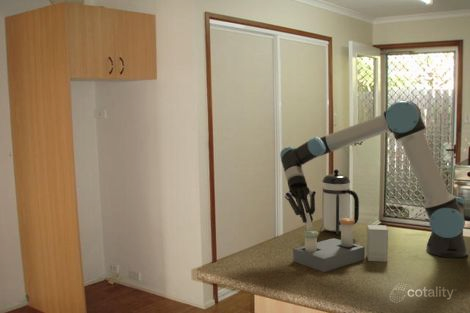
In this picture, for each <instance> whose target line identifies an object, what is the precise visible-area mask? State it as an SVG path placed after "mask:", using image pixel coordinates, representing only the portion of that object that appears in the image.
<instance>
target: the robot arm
mask: <svg viewBox="0 0 470 313" xmlns="http://www.w3.org/2000/svg"><path fill="white" fill-rule="evenodd" d="M426 130H427V128H426V126H425V123H424V121H423V119H422V112H421V109H420V108H419V106H418V105H417V104H416V103H414V102H412V101H410V100H398V101H396V102H394V103H392V104H391V105H390V106H389V107H388V109H386V110H384V111H382V113H381V114H380V115H378V116H375V117H372V118H369V119H367V120H364V121H362V122H359V123H356V124H354V125H352V126H351V125H350V126H348V127H346V128H342V129H339V130H337V131H335V132H332V133H330V134H327V135H324V136H322V137H319V136H314V137H313V138H311V139H309V140H307V141H305V143H302V144H301V145H299V146H298V147H294V146H288V147H284V148H283V149H282V150H281V151H280V156H279V157H280V161H281V165H282V167H283V171H284V174H285V180H286V181H287V186H288V190H289V191H288V192H286V193H285V196H284V199H286V200H287V201H288V203H289V205H290V207H291V208H292V209H293V212H294V213H295V215H296V216H299V217H300V218H301V220H302V224H304V223H305V226H306V231H313V228H314V226H313V221H314V220H313V215H314V213H315V211H316V203H315V202H316V199H315V196H316V191H314V190H313V191H312V190H310V188H309V187H308V184H307V181H306V180H307V179H306V178H305V177H306V176H305V172H304V170H303V167H302V166H304V165H306V163H308V162H310V161H312V160H314V159H317V158H319V157H322V156H325V155H327V154H330V153H333V152H335V151H338V150H340V149H343V148H346V147H348V146H351V145H355V144H357V143H360V142H363V141H366V140H369V139H371V138H374V137H377V136H380V135H382V134H385V133H390V134H392V135H393V137H394V138H395V141H396V142H399V143H401V145H402V147H403V149H404V153H405V154H406V157H407V159H408V162H409V164H410V166H411V169H412V170H413V173H414V176H415V179H416V180H417V183H418V185H419V187H420V190H421V192H422V195H423V197H424V200H425V203H424V205H423V208H424V210H425V213H426V215H427V217H428V220H429V227H430V229H431V232H430V236H429V238H428V240H427V243H426V252H427V253H428V254H431V255H434V256H437V257H441V258H442V257H443V258H450V259H452V258H456V259H457V258H464V257H466V256H467V255H468V247H467V244H466V241H465V237H464V228H465V225H466V220H465V213H464V211H465V199H464V198H463V197H462V196H461V197H460V196H455V195H454V194H451V193H450V192H449V190H448V188H447V186H446V185H447V184H446V183H445V181H444V179H443V177H442V174H441V172H440V169H439V166H438V164H437V162H436V159H435V157H434V155H433V152H432V150H431V148H430V146H429V144H428V141H427V139H426V136H425V132H426ZM308 196H309V199H308Z"/></svg>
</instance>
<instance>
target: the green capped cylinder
mask: <svg viewBox="0 0 470 313" xmlns="http://www.w3.org/2000/svg"><path fill="white" fill-rule="evenodd" d="M302 235H303V237H304V246H305V251H307V252H310V253H312V252H316V251H317V242H318V241H317V240H318V237H319V232H318V231H317V230H311V231H307V230H304V231H303V234H302Z"/></svg>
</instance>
